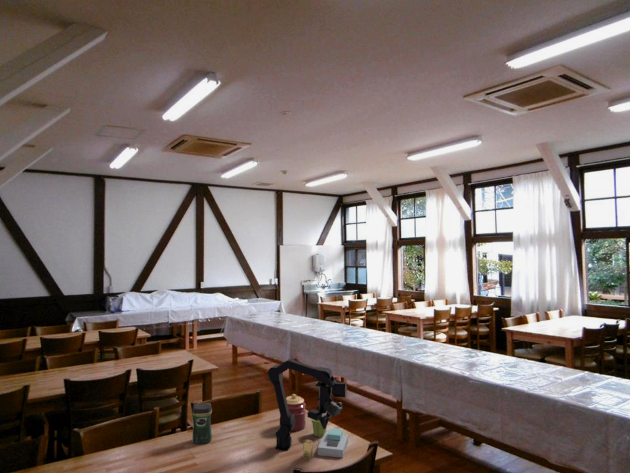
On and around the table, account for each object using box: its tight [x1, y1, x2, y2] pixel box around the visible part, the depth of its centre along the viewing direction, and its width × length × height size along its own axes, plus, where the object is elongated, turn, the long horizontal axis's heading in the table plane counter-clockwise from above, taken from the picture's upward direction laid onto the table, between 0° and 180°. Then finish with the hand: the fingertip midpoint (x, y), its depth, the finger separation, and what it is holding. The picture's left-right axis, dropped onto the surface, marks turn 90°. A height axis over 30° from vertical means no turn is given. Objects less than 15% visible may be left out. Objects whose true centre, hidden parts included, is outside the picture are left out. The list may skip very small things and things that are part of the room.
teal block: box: [327, 428, 344, 441], centre depth 213 cm, size 6×7×2 cm
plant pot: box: [310, 418, 327, 438], centre depth 225 cm, size 9×9×9 cm
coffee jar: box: [191, 402, 213, 445], centre depth 218 cm, size 10×8×19 cm
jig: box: [317, 432, 350, 459], centre depth 210 cm, size 12×17×4 cm
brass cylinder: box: [302, 439, 314, 460], centre depth 201 cm, size 4×4×7 cm
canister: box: [286, 393, 307, 432], centre depth 236 cm, size 13×13×18 cm
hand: (324, 428), depth 207 cm, fingers closed
